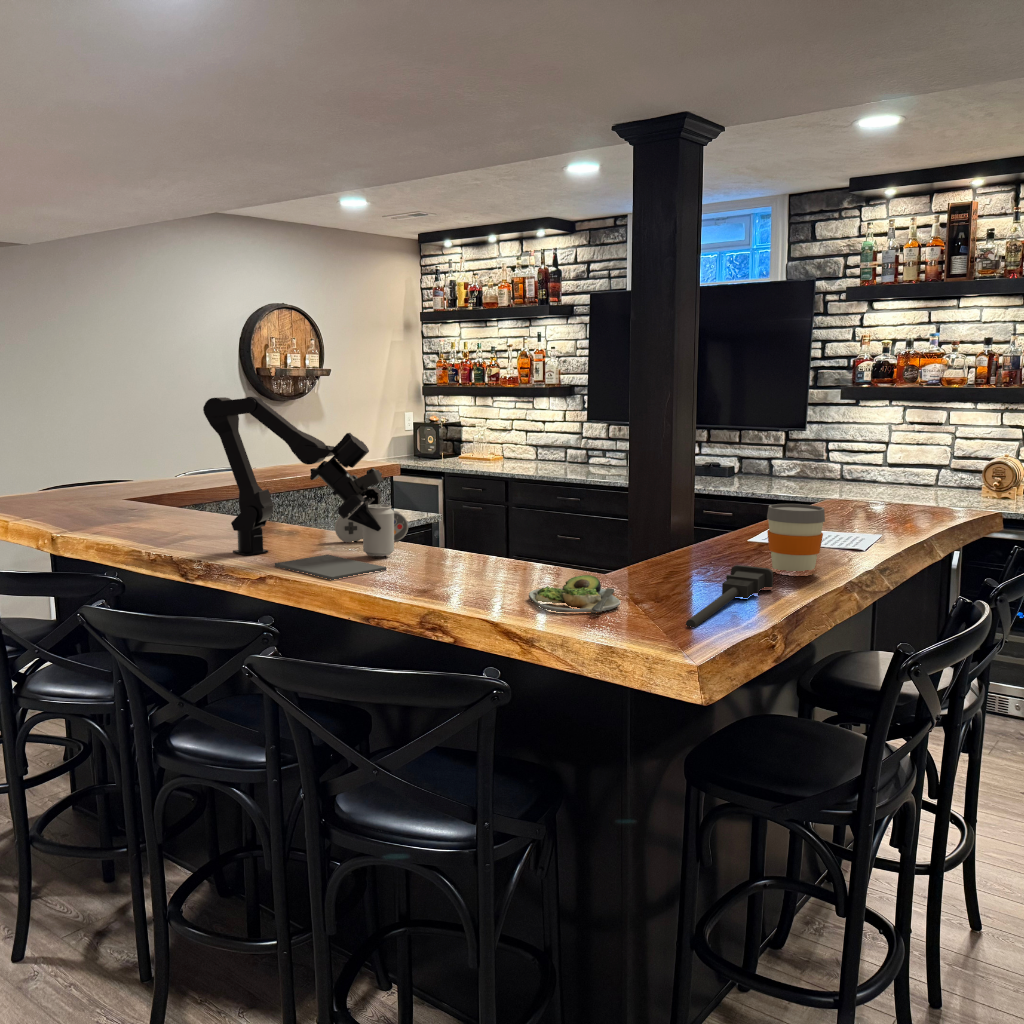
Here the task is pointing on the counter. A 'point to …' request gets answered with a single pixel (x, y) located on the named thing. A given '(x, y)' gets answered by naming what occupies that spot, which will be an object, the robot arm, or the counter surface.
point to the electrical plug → (736, 589)
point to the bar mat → (329, 566)
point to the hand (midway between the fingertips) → (384, 527)
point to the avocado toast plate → (577, 596)
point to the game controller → (354, 530)
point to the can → (379, 532)
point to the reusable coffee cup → (795, 535)
